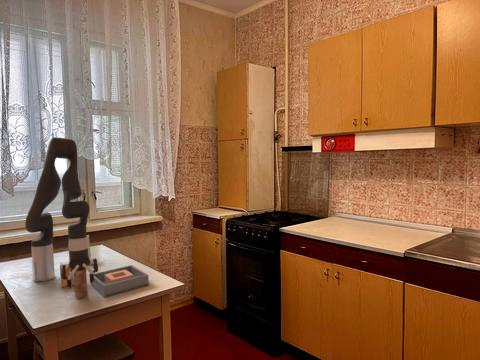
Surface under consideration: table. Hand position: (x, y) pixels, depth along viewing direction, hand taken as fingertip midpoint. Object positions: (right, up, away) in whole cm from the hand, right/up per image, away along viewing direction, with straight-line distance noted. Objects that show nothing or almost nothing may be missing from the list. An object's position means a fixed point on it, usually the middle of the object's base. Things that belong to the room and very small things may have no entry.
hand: (80, 285), depth 147 cm
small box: (-12, -5, +16) cm, 21 cm away
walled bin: (+12, -4, +12) cm, 18 cm away
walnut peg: (0, -5, 0) cm, 5 cm away
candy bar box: (-22, -3, +49) cm, 54 cm away
